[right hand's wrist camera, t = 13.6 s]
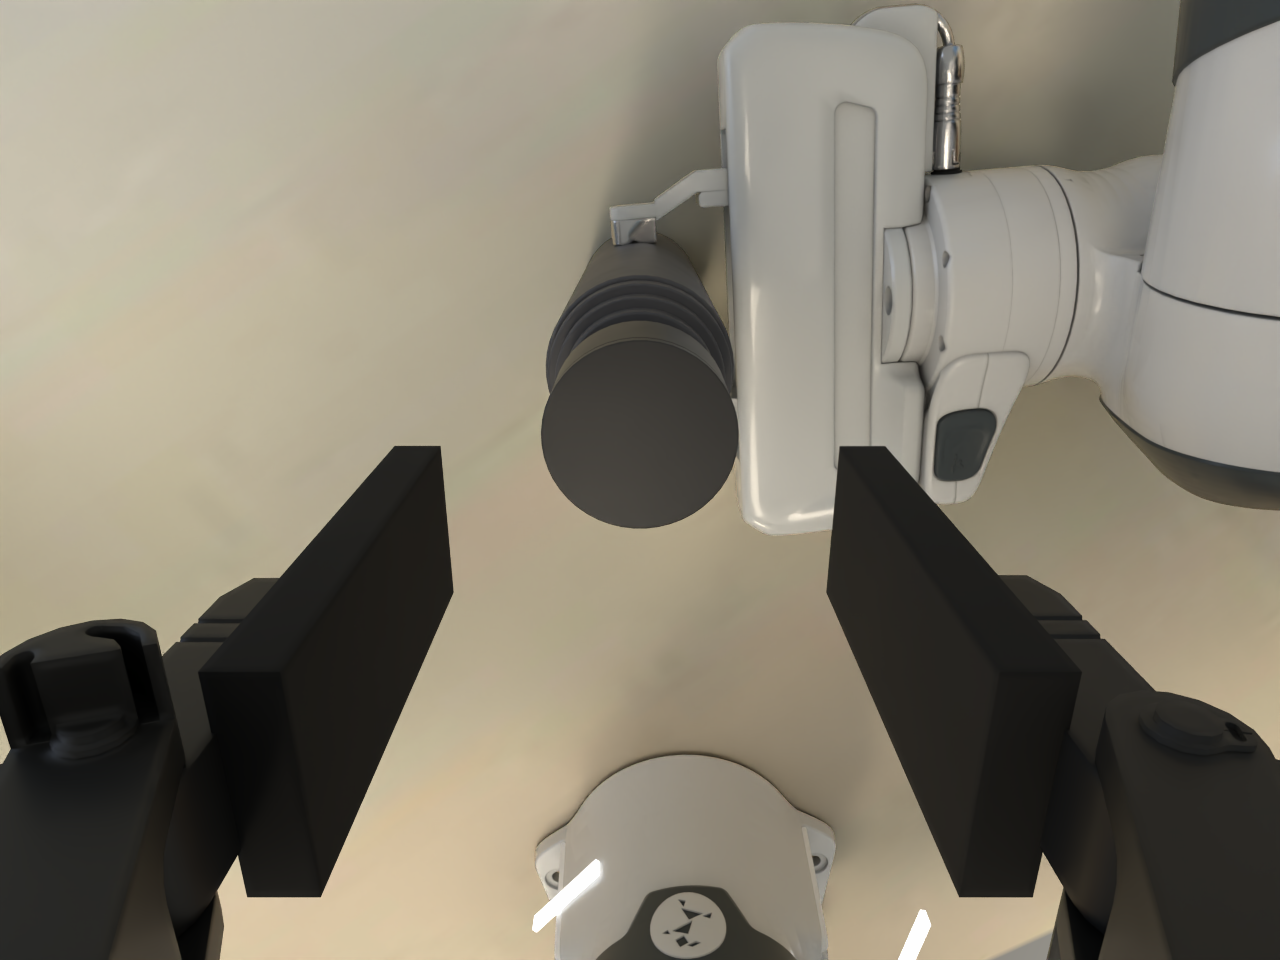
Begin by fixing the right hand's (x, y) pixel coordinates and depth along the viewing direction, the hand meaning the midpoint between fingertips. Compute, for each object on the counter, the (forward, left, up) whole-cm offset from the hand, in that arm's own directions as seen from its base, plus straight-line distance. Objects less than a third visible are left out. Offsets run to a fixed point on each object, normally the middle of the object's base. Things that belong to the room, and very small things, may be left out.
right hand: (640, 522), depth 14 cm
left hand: (0, +1, -22) cm, 22 cm away
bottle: (0, 0, -28) cm, 28 cm away
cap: (0, 0, -5) cm, 5 cm away
